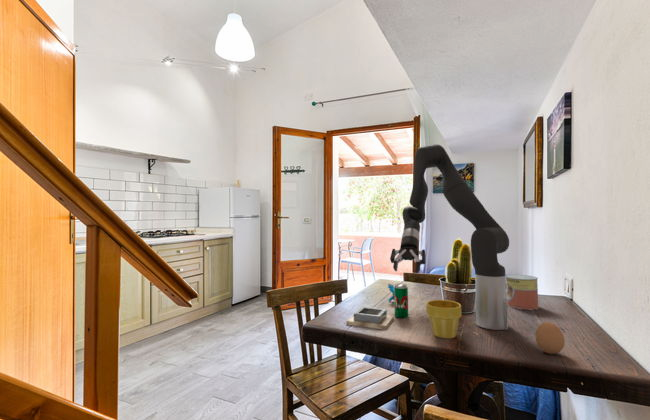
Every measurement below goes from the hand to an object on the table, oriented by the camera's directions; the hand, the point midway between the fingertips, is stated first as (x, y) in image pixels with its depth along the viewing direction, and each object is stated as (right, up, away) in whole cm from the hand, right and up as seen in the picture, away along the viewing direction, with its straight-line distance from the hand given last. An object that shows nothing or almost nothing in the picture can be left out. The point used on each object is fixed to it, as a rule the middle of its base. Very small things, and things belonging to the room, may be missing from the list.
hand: (406, 270), depth 131 cm
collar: (-17, -14, -16) cm, 27 cm away
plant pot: (+4, -15, -30) cm, 34 cm away
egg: (+27, -14, -45) cm, 54 cm away
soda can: (-4, -15, -11) cm, 19 cm away
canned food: (+48, -15, +2) cm, 51 cm away
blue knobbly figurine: (-1, -16, +12) cm, 20 cm away
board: (-17, -15, -16) cm, 28 cm away
